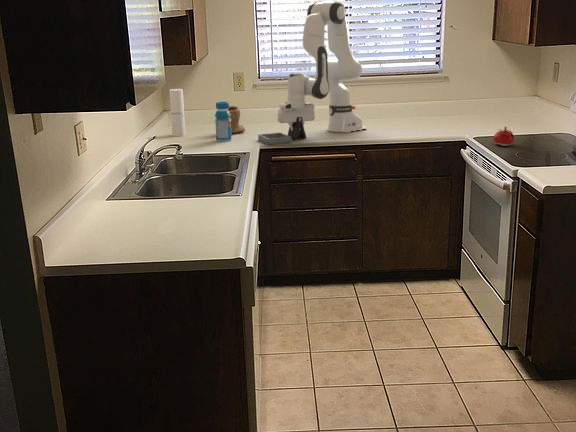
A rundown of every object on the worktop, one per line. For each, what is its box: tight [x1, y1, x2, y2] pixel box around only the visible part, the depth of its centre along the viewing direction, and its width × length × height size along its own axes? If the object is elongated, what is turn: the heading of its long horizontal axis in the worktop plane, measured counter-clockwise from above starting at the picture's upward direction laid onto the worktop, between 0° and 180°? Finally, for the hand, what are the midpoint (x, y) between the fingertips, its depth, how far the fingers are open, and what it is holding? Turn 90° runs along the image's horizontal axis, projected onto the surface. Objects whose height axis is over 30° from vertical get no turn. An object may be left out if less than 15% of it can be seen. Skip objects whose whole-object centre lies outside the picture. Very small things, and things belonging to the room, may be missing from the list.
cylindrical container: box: [169, 88, 187, 137], centre depth 351 cm, size 7×7×25 cm
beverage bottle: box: [214, 101, 233, 143], centre depth 336 cm, size 8×8×20 cm
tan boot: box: [228, 105, 246, 134], centre depth 356 cm, size 15×12×15 cm
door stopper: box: [287, 117, 307, 142], centre depth 339 cm, size 9×6×12 cm, turn 133°
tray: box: [257, 131, 292, 146], centre depth 334 cm, size 13×14×3 cm
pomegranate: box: [492, 126, 515, 144], centre depth 316 cm, size 10×10×9 cm
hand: (296, 130), depth 339 cm, fingers closed on door stopper, 3 cm apart
